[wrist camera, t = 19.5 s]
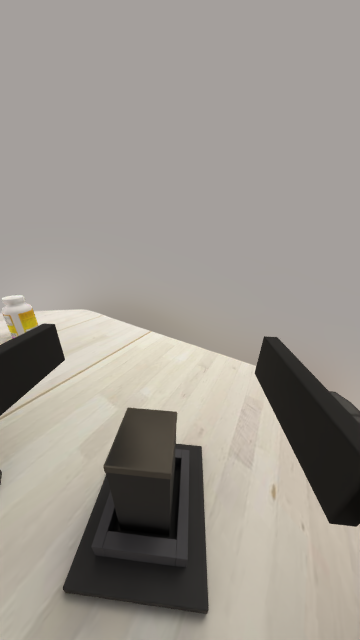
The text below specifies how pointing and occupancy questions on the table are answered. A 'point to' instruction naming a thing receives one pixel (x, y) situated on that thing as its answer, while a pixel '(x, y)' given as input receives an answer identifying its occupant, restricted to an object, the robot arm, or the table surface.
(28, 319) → the supplement bottle
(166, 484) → the dark capped pillar
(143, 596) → the pad
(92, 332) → the table surface
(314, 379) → the robot arm
